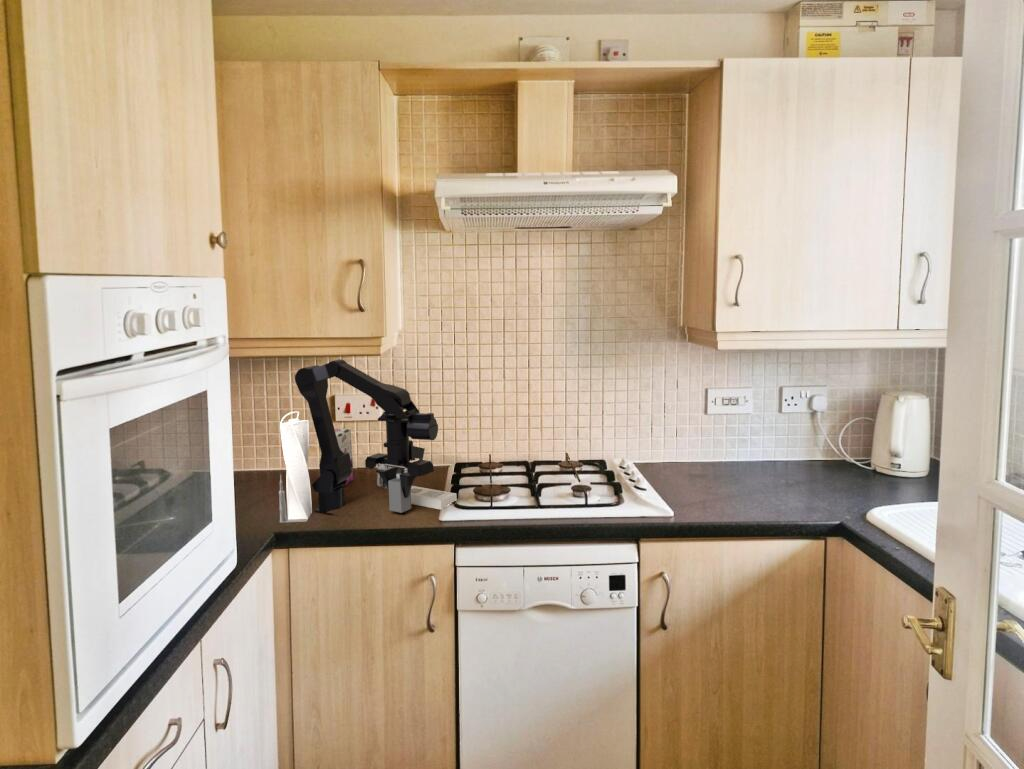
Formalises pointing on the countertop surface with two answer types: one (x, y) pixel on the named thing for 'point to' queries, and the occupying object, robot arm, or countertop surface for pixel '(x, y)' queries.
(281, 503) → the skyscraper
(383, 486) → the electrical switch
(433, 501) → the power strip
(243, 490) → the countertop surface
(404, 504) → the block
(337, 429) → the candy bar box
